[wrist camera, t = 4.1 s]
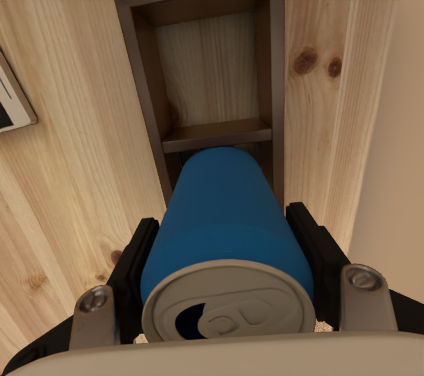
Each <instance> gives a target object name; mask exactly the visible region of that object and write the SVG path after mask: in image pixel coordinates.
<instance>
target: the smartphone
mask: <svg viewBox="0 0 424 376" xmlns="http://www.w3.org/2000/svg"><path fill="white" fill-rule="evenodd" d="M36 122H37V118H36V116H35V114H34V112H33V110H32V109H31V107H30V105H29V103H28V101H27V99H26V97H25V96H24V94H23V92H22V90H21V88H20V86H19V84H18V83H17V81H16V79H15V77H14V75H13V73H12V71H11V70H10V68H9V66H8V64H7V62H6V60H5V58H4V57H3V55H2V53H1V51H0V132H4V131H8V130H12V129H16V128H20V127H23V126H27V125H31V124H34V123H36Z"/></svg>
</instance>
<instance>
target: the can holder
mask: <svg viewBox="0 0 424 376" xmlns="http://www.w3.org/2000/svg"><path fill="white" fill-rule="evenodd" d="M114 1H115V5H116V9H117V13H118V17H119V21H120V25H121V29H122V33H123V37H124V41H125V45H126V49H127V53H128V57H129V61H130V65H131V69H132V73H133V77H134V81H135V85H136V89H137V93H138V97H139V101H140V105H141V109H142V113H143V117H144V121H145V125H146V129H147V133H148V137H149V141H150V144H151V148H152V152H153V156H154V160H155V164H156V168H157V172H158V176H159V180H160V184H161V188H162V192H163V196H164V200H165V204H166V208H167V207H168V205H169V202H170V199H171V197H172V194H173V192H174V189H175V187H176V184H177V181H178V179H179V176H180V174H181V171H182V166H181V162H180V157H179V152H181V151H189V150H197V149H205V148H213V147H221V146H229V145H237V144H245V143H253V142H260V146H261V170H262V172H263V174H264V176H265V178H266V180H267V182H268V184H269V186H270V188H271V190H272V192H273V194H274V196H275V198H276V200H277V202H278V204H279V206H280V208H281V210H282V212H283V214H284V42H285V0H114ZM252 10H255V28H256V52H257V75H258V99H259V117H257V118H250V119H242V120H235V121H227V122H220V123H212V124H205V125H197V126H190V127H182V128H175V129H174V127H173V122H172V117H171V112H170V107H169V102H168V97H167V92H166V87H165V82H164V77H163V72H162V67H161V62H160V57H159V52H158V47H157V42H156V37H155V32H154V27H157V26H163V25H169V24H175V23H180V22H186V21H192V20H198V19H204V18H210V17H216V16H222V15H228V14H234V13H240V12H246V11H252Z"/></svg>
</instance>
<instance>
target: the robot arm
mask: <svg viewBox="0 0 424 376" xmlns="http://www.w3.org/2000/svg"><path fill="white" fill-rule="evenodd" d="M286 220H287V222H288V224H289V226H290V228H291V230H292V232H293V234H294V236H295V238H296V240H297V242H298V244H299V246H300V248H301V250H302V252H303V254H304V256H305V258H306V260H307V262H308V263H309V266H310V269H311V271H312V275H313V281H314V297H313V302H312V305H313V307H314V310H315V315H316V319H317V321H318V322H323V321H325V322H326V323H327V324H328V325H330V326H332V332H311V333H294V334H277V335H260V336H244V337H229V338H213V339H198V340H183V341H169V342H154V343H140V344H136V339H135V338H136V337H138V336H139V334H144V332H143V328H142V314H143V309H144V307H143V303H142V299H141V289H140V285H141V276H142V273H143V270H144V267H145V264H146V261H147V259H148V256H149V254H150V251H151V249H152V246H153V243H154V241H155V238H156V236H157V233H158V230H159V228H160V226H159V222H158V220H155V219H154V218H153V217H151V218H143V219H142V220H141V221H140V223H139V225H138V227H137V229H136V231H135V233H134V235H133V237H132V239H131V241H130V243H129V244H128V245H127V246H126V247H125V249H124V251H123V253H122V255H121V257H120V258H119V260H118V262H117V264H116V266H115V268H114V270H113V272H112V274H111V276H110V278H109V279H108V281H107V283H106V285H99V286H95V287H93V288H91V289H89V290H88V291H87V292H85V293H84V294H83V295H82V296H81V297H80V298H79V300H78V301H77V303H76V305H75V309H74V314H73V315H72V316H71V317H69V318H68V319H66V320H65V321H63V322H62V323H60V324H59V325H57V326H56V327H54V328H53V329H51V330H50V331H48V332H47V333H45V334H44V335H42V336H41V337H39V338H38V339H36V340H35V341H33V342H32V343H31V344H29V345H28V346H26V347H25V348H23V349H22V350H21V351H19V352H18V353H17V354H16V355H15V356H14V357H13V358H12V359H11V360H10V361H9V363H8V364H7V366H6V367H5V369H4V371H3V373H2V375H0V376H424V304H422V303H420V302H418V301H416V300H413V299H411V298H409V297H406V296H404V295H402V294H400V293H397V292H395V291H393V290H391V289H388V284H387V282H386V280H385V278H384V277H383V276H382V275H381V273H379V272H378V271H376V270H375V269H373V268H371V267H369V266H365V265H362V264H351V263H350V261H349V260H348V258H347V257H346V255H345V254H344V253H343V251H342V250H341V249H340V247H339V246H338V244H337V243H336V242H335V240H334V239H333V237H332V236H331V235H330V233H329V232H328V230H327V229H326V228H325V227H324V226H318V225H317V223H316V222H315V220H314V219H313V217H312V216H311V214H310V213H309V211H308V210H307V208H306V207H305V205H304V204H303V203H302V202H294V203H290V205H289V206H286Z"/></svg>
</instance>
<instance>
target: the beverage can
mask: <svg viewBox="0 0 424 376" xmlns="http://www.w3.org/2000/svg"><path fill="white" fill-rule="evenodd" d="M140 289H141V299H142V303H143V307H144V309H143V314H142V328H143V332H144V335H145V337H146V339H147V341H148V342H149V343H154V342H169V341H183V340H198V339H213V338H229V337H244V336H260V335H277V334H294V333H311V332H314V329H315V325H316V315H315V310H314V307H313V305H312V302H313V297H314V281H313V275H312V271H311V269H310V266H309V263H308V262H307V260H306V258H305V256H304V254H303V252H302V250H301V248H300V246H299V244H298V242H297V240H296V238H295V236H294V234H293V232H292V230H291V228H290V226H289V224H288V222H287V220H286V218H285V216H284V214H283V212H282V210H281V208H280V206H279V204H278V202H277V200H276V198H275V196H274V194H273V192H272V190H271V188H270V186H269V184H268V182H267V180H266V178H265V176H264V174H263V172H262V170H261V168H260V166H259V165H258V163H257V162H256V160H255V159H254V158H253V157H252V156H251V155H250V154H249V153H247V152H246V151H244V150H242V149H240V148H238V147H235V146H230V145H229V146H221V147H213V148H205V149H201V150H199V151H198V152H196V153H195V154H194V155H192V156H191V157H190V158H189V159H188V161H187V162H186V163H185V165H184V167H183V169H182V171H181V174H180V176H179V179H178V181H177V184H176V187H175V189H174V192H173V194H172V197H171V199H170V202H169V205H168V207H167V210H166V212H165V215H164V218H163V220H162V223H161V225H160V228H159V230H158V233H157V236H156V238H155V241H154V243H153V246H152V249H151V251H150V254H149V256H148V259H147V261H146V264H145V267H144V270H143V273H142V276H141V285H140Z"/></svg>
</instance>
